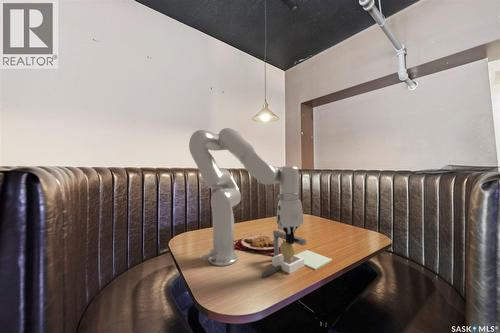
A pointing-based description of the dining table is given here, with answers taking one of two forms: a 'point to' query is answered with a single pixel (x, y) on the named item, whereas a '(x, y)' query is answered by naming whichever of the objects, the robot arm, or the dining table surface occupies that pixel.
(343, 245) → the dining table surface
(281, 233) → the silver metal bar
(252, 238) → the plate with food
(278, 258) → the white handled box
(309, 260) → the mat
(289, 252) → the light bulb
